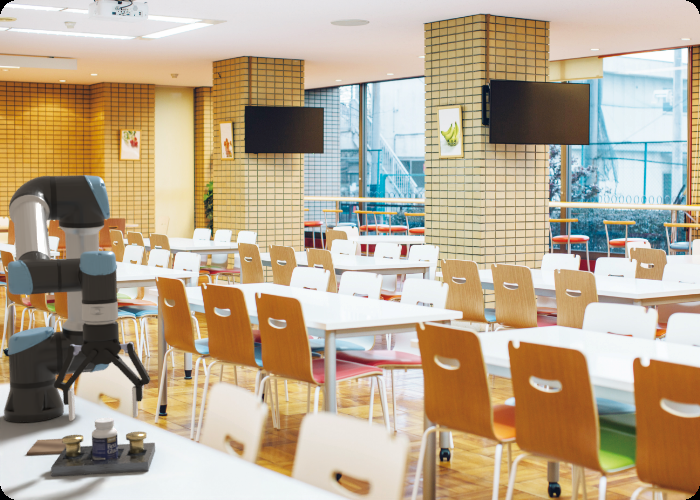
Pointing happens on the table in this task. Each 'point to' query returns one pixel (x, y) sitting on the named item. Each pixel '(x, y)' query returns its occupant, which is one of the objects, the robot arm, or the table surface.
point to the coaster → (47, 447)
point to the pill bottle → (104, 440)
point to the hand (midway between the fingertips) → (104, 417)
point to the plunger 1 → (72, 445)
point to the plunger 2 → (136, 441)
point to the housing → (103, 462)
